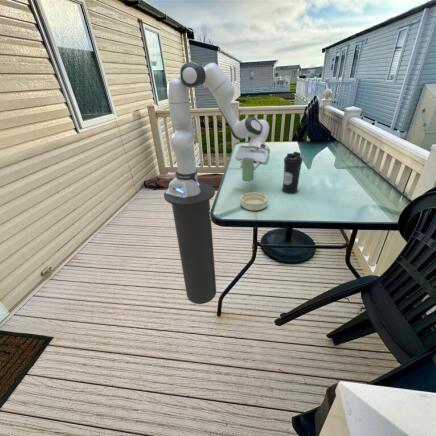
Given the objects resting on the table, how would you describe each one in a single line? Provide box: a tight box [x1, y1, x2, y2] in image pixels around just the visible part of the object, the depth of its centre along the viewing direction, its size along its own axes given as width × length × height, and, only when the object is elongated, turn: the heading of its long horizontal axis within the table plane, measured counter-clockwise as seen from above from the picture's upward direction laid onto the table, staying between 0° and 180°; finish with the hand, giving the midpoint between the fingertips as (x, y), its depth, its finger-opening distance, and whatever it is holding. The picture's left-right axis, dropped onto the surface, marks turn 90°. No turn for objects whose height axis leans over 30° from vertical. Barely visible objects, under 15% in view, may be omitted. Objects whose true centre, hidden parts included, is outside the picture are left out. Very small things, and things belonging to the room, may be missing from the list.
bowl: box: [240, 191, 268, 212], centre depth 133 cm, size 14×14×4 cm
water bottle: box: [282, 151, 304, 195], centre depth 143 cm, size 10×10×23 cm
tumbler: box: [241, 158, 255, 182], centre depth 140 cm, size 7×7×12 cm
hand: (247, 168), depth 139 cm, fingers closed on tumbler, 6 cm apart
